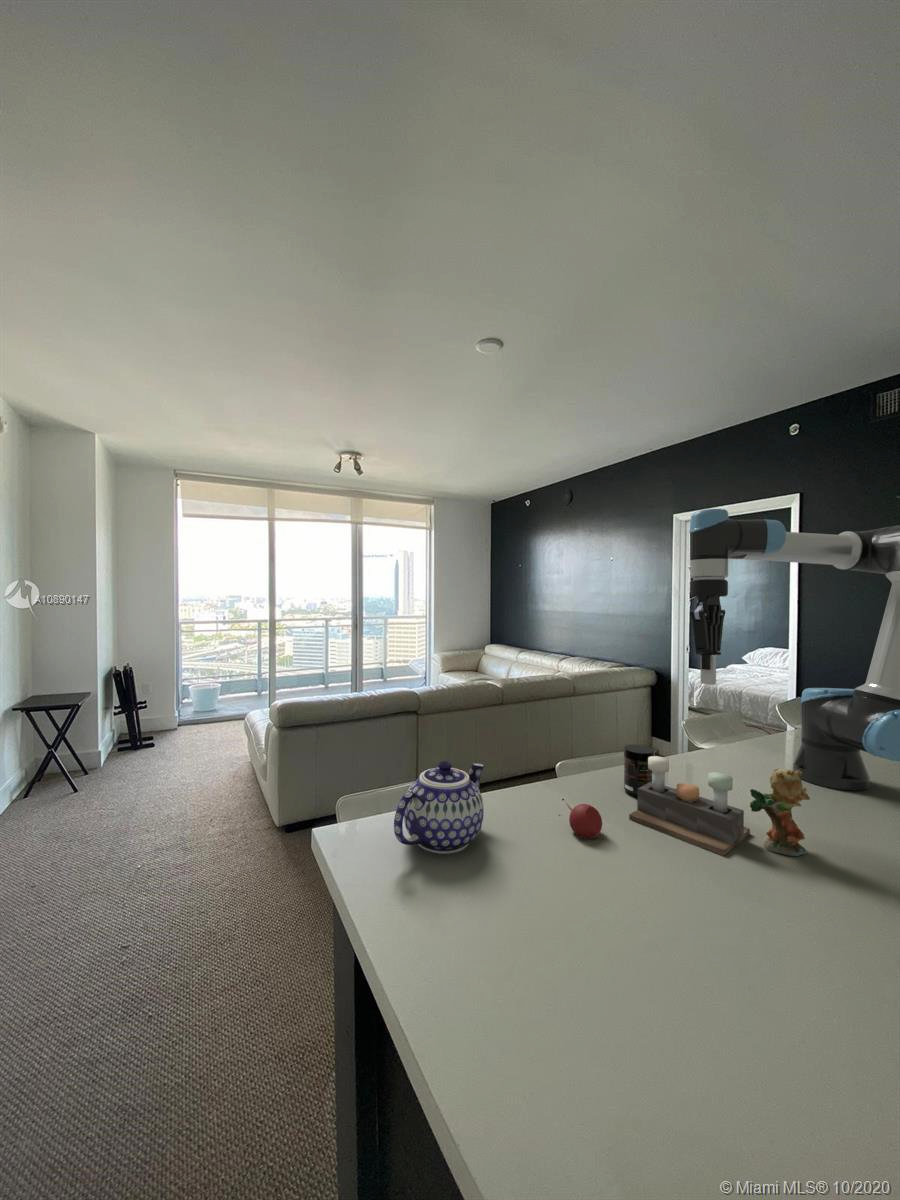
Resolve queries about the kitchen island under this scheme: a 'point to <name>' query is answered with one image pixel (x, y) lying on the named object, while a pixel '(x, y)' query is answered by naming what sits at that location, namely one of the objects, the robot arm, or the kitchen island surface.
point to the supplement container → (636, 767)
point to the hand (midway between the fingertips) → (708, 683)
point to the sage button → (720, 790)
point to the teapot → (442, 809)
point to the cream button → (658, 772)
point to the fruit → (585, 821)
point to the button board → (690, 819)
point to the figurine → (782, 811)
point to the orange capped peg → (687, 792)
